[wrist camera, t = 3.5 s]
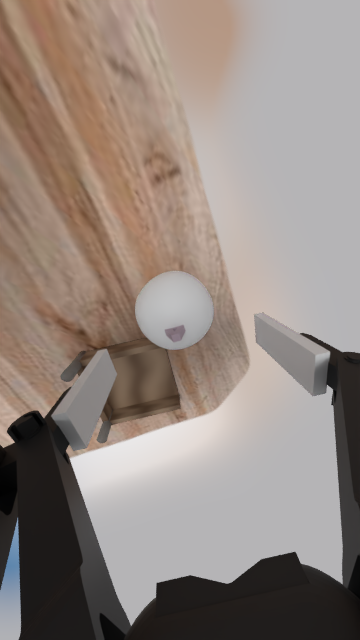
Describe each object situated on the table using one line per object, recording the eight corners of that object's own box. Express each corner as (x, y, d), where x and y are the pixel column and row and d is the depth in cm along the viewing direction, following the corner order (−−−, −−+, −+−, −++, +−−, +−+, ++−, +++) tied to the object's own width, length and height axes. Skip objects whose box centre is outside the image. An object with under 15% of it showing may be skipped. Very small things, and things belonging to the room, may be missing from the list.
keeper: (109, 414, 36) (98, 443, 30) (78, 351, 30) (58, 373, 25) (179, 397, 36) (182, 424, 30) (161, 332, 30) (160, 350, 25)
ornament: (168, 340, 31) (170, 389, 20) (127, 296, 28) (103, 325, 17) (215, 305, 30) (246, 336, 18) (178, 254, 26) (188, 254, 15)
